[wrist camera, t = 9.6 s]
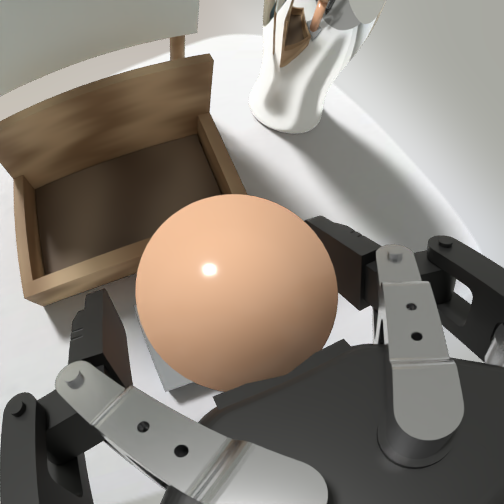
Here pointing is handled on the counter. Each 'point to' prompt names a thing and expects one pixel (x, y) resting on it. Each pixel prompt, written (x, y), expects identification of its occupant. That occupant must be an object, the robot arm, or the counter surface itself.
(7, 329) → the counter surface
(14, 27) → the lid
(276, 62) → the beer glass
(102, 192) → the open wooden box
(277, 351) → the peach mushroom shaped stopper
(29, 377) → the counter surface
